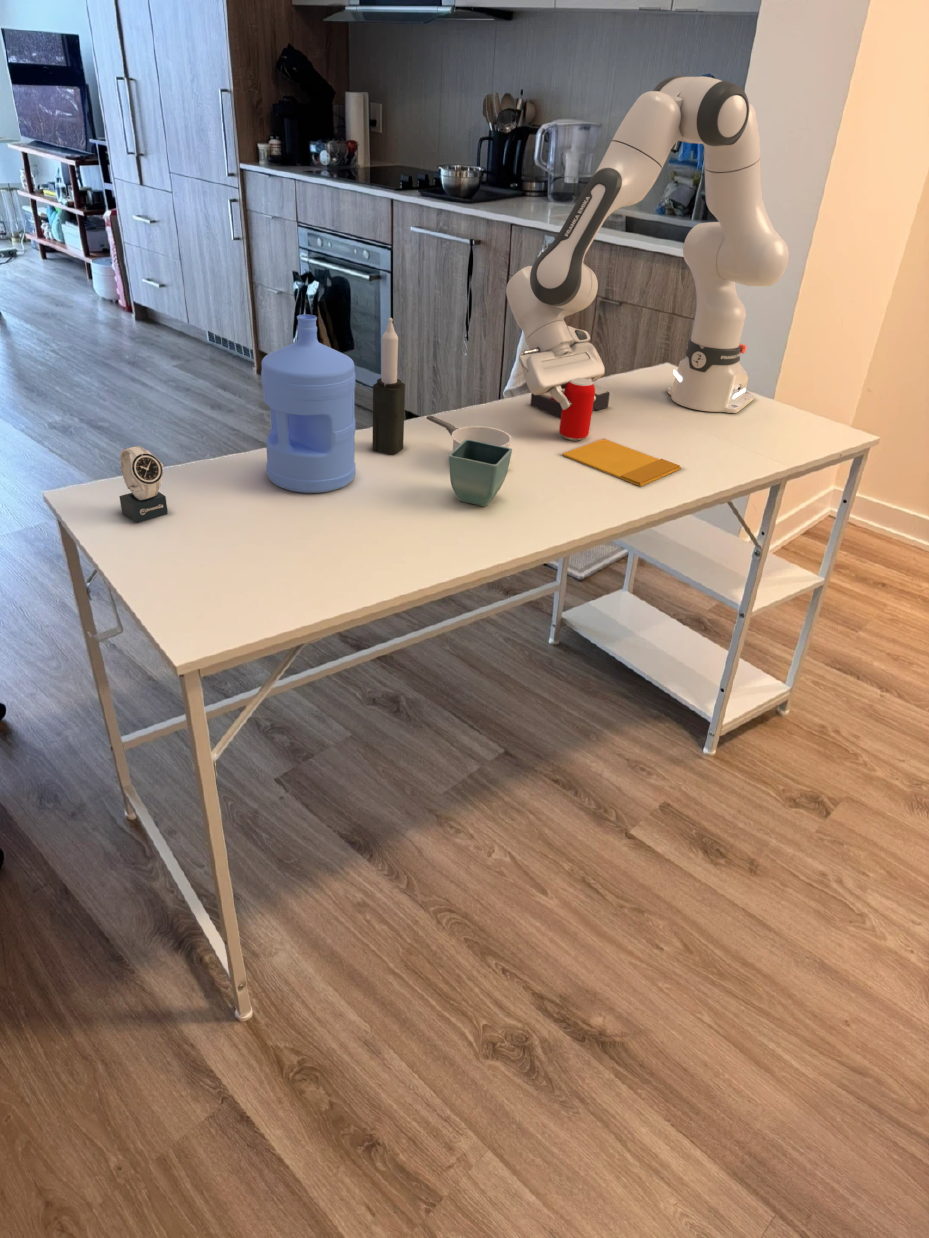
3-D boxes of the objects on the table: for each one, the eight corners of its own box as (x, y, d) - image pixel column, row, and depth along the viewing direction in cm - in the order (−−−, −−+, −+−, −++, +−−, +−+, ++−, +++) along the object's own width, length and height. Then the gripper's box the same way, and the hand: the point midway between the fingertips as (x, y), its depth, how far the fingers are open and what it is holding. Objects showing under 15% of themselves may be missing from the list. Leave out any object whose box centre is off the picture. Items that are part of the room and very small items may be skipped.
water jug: (310, 453, 164) (305, 300, 149) (373, 476, 157) (375, 318, 142) (248, 477, 153) (236, 315, 138) (313, 503, 146) (308, 335, 131)
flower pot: (492, 514, 147) (497, 465, 142) (444, 503, 149) (447, 455, 144) (508, 495, 154) (513, 448, 149) (462, 485, 156) (465, 438, 151)
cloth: (603, 440, 181) (604, 437, 180) (680, 469, 170) (681, 466, 170) (561, 455, 172) (562, 452, 172) (640, 486, 161) (641, 483, 161)
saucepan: (447, 436, 177) (448, 409, 174) (521, 466, 166) (524, 439, 163) (406, 448, 169) (407, 421, 166) (481, 481, 158) (484, 452, 155)
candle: (370, 450, 167) (371, 318, 154) (382, 442, 171) (384, 312, 158) (393, 455, 166) (397, 322, 152) (405, 447, 170) (409, 317, 156)
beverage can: (561, 430, 184) (569, 374, 178) (590, 435, 183) (598, 379, 176) (555, 439, 179) (563, 382, 173) (585, 444, 178) (593, 387, 171)
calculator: (530, 389, 194) (575, 376, 203) (529, 407, 197) (573, 393, 205) (566, 403, 188) (611, 389, 196) (564, 422, 190) (608, 407, 199)
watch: (142, 527, 134) (132, 461, 128) (116, 510, 139) (106, 445, 133) (174, 517, 138) (166, 453, 132) (148, 501, 142) (139, 437, 136)
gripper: (524, 343, 169) (555, 406, 168) (593, 330, 181) (621, 389, 180) (507, 360, 174) (536, 421, 173) (574, 347, 186) (602, 404, 185)
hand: (580, 405), depth 177 cm, fingers closed on beverage can, 6 cm apart
